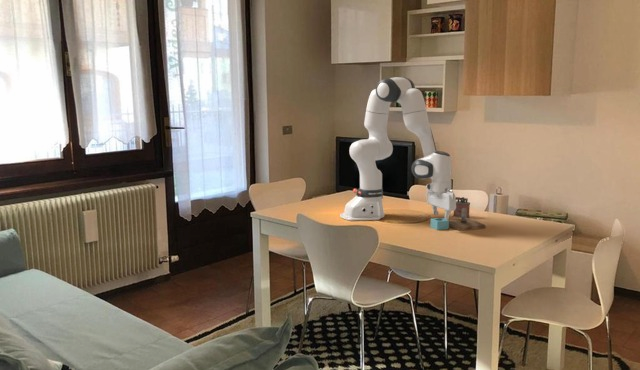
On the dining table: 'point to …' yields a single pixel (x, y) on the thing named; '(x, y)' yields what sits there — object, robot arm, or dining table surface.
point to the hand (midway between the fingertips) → (440, 216)
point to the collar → (439, 223)
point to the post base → (466, 226)
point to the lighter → (461, 207)
